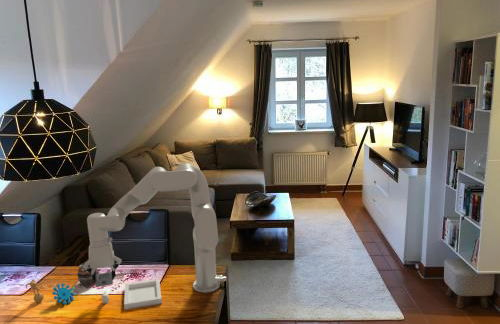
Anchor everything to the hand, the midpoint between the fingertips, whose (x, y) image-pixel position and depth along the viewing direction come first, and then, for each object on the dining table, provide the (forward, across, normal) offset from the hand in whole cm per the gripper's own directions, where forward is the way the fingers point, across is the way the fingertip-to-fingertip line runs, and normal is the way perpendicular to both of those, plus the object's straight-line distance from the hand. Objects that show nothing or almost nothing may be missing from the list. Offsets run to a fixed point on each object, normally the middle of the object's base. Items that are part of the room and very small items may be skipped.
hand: (104, 279), depth 175 cm
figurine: (+10, +30, -8) cm, 32 cm away
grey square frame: (+1, 0, 0) cm, 1 cm away
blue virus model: (+11, +18, -6) cm, 22 cm away
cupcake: (+11, +10, -20) cm, 25 cm away
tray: (+11, -15, 0) cm, 19 cm away
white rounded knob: (+11, +1, 0) cm, 11 cm away
